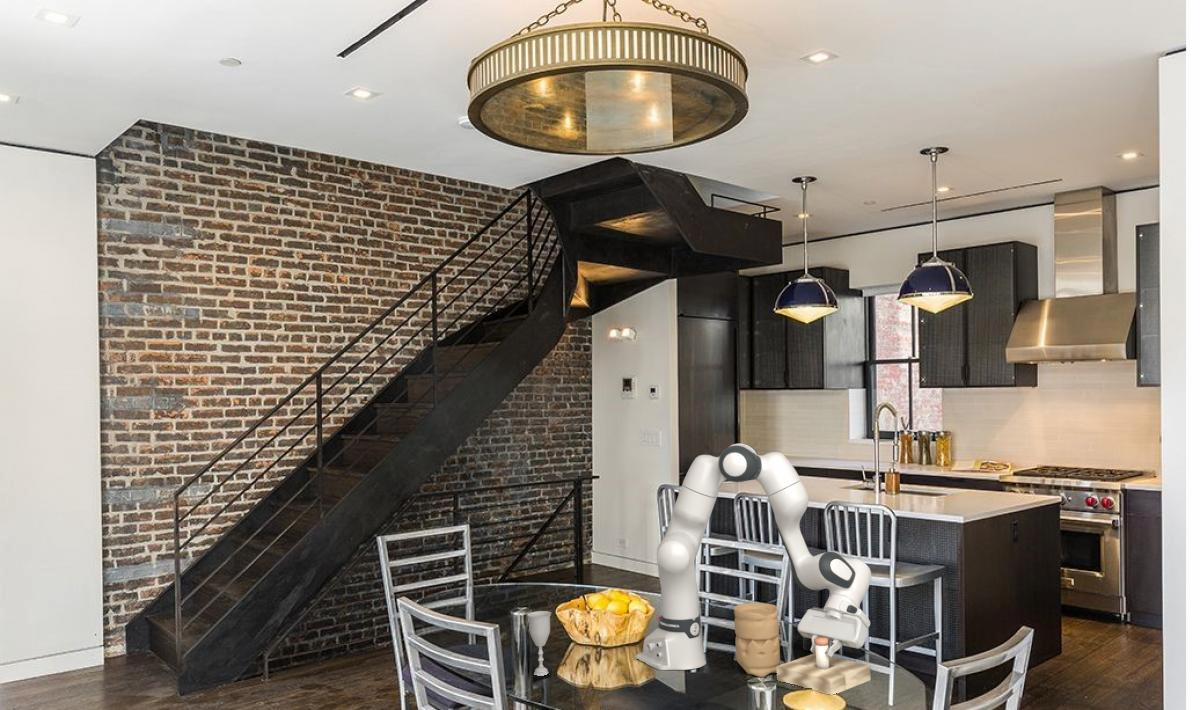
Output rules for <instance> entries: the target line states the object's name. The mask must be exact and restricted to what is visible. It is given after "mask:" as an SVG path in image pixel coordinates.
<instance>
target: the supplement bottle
mask: <svg viewBox="0 0 1200 710" xmlns="http://www.w3.org/2000/svg"><path fill="white" fill-rule="evenodd" d="M807 611H808V609H806V610H805V611H804V612H805V614H806V613H807ZM805 614H804V615H805ZM802 640H803V641H802V645H803V650H804V651H805V650H806V652H808V651H811V647H812V638H807V637H803V636H802Z"/></svg>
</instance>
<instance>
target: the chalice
mask: <svg viewBox="0 0 1200 710" xmlns="http://www.w3.org/2000/svg"><path fill="white" fill-rule="evenodd" d="M551 616H552V612H551V611H547V610H537V611H532V612H529V613H527V617H528V623H529V624H528V625H529V629H528V630H529V634H530V636H531V639H532V641H533V643H534V644H535V646H536V647H538V652H537V654H538V659H537V661H538V663H539V665H538V667H536V668H535V670H534V673H533V675H537V676H544V675H547V674H548V673H549V671H548V668H546V667H545V666H544V665H543V661H544V660H545V659H544V657H543V654H544V651H543V647H544V646H545V645H546V643H547V641H548V638H549V636H550V632H551Z"/></svg>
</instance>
